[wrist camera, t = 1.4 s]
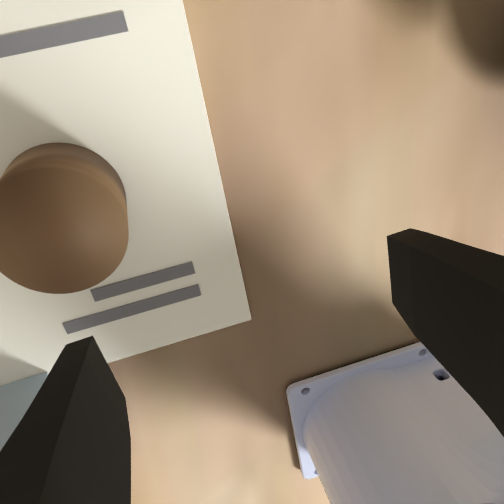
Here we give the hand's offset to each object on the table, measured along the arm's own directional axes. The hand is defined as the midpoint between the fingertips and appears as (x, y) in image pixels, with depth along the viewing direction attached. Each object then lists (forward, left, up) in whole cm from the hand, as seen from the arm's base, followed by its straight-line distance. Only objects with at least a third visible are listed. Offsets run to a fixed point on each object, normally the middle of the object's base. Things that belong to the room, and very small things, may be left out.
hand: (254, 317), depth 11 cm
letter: (+5, -1, -10) cm, 11 cm away
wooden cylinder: (+5, -1, -9) cm, 10 cm away
